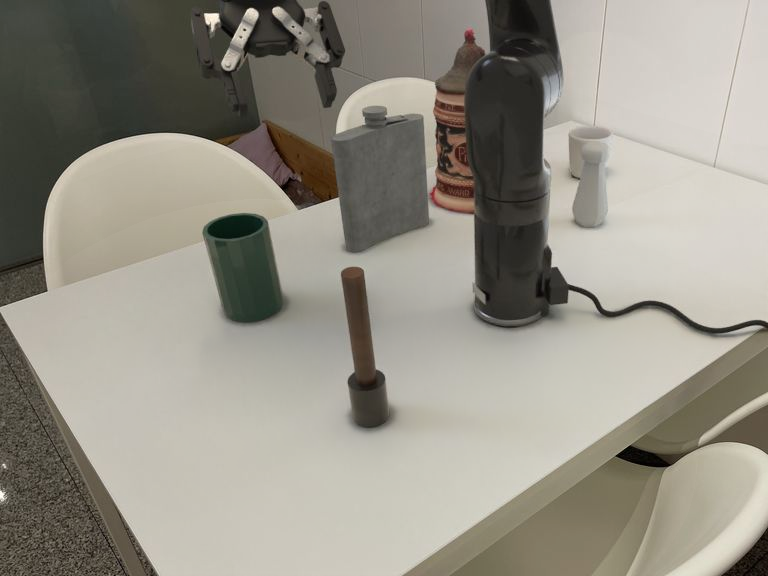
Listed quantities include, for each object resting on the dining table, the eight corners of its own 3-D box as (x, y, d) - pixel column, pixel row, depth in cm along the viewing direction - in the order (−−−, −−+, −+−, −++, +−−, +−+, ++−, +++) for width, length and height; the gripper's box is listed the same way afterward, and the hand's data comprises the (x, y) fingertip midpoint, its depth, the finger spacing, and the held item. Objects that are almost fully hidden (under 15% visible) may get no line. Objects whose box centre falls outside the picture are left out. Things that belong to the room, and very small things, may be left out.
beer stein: (482, 232, 118) (538, 187, 129) (490, 66, 98) (554, 29, 109) (406, 200, 124) (465, 160, 135) (398, 38, 105) (468, 7, 116)
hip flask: (353, 254, 107) (336, 124, 95) (338, 245, 110) (320, 117, 98) (433, 222, 116) (426, 99, 104) (417, 215, 118) (409, 94, 106)
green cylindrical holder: (284, 288, 99) (268, 210, 92) (283, 318, 93) (266, 237, 86) (226, 294, 98) (206, 216, 91) (221, 325, 92) (199, 243, 85)
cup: (614, 188, 126) (618, 145, 121) (569, 189, 126) (572, 145, 121) (605, 166, 134) (609, 125, 130) (563, 167, 135) (566, 125, 130)
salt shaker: (566, 226, 114) (572, 148, 106) (575, 212, 118) (581, 136, 110) (602, 231, 112) (610, 152, 104) (610, 217, 116) (618, 140, 108)
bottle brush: (387, 401, 79) (371, 259, 68) (391, 424, 75) (375, 280, 65) (351, 406, 78) (330, 264, 67) (353, 429, 75) (331, 284, 64)
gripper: (169, -68, 64) (213, 97, 63) (320, -70, 70) (363, 83, 69) (173, -16, 71) (213, 133, 70) (310, -22, 77) (349, 118, 76)
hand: (287, 108), depth 70 cm, fingers open, 8 cm apart
